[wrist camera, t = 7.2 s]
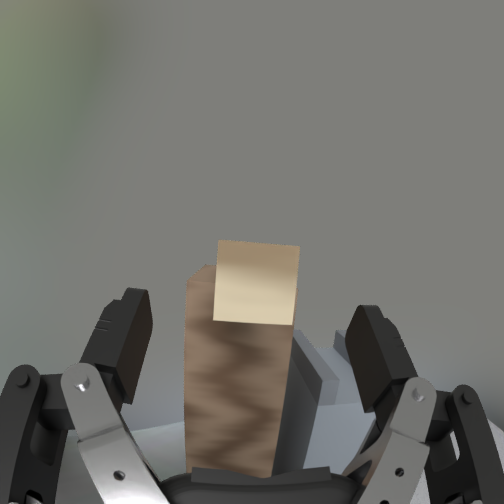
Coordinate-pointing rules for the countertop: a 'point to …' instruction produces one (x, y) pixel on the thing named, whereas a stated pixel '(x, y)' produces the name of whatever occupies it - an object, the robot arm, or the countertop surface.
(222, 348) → the walnut pedestal
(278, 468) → the slate grooved rack
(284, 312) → the birch bar
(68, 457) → the countertop surface
